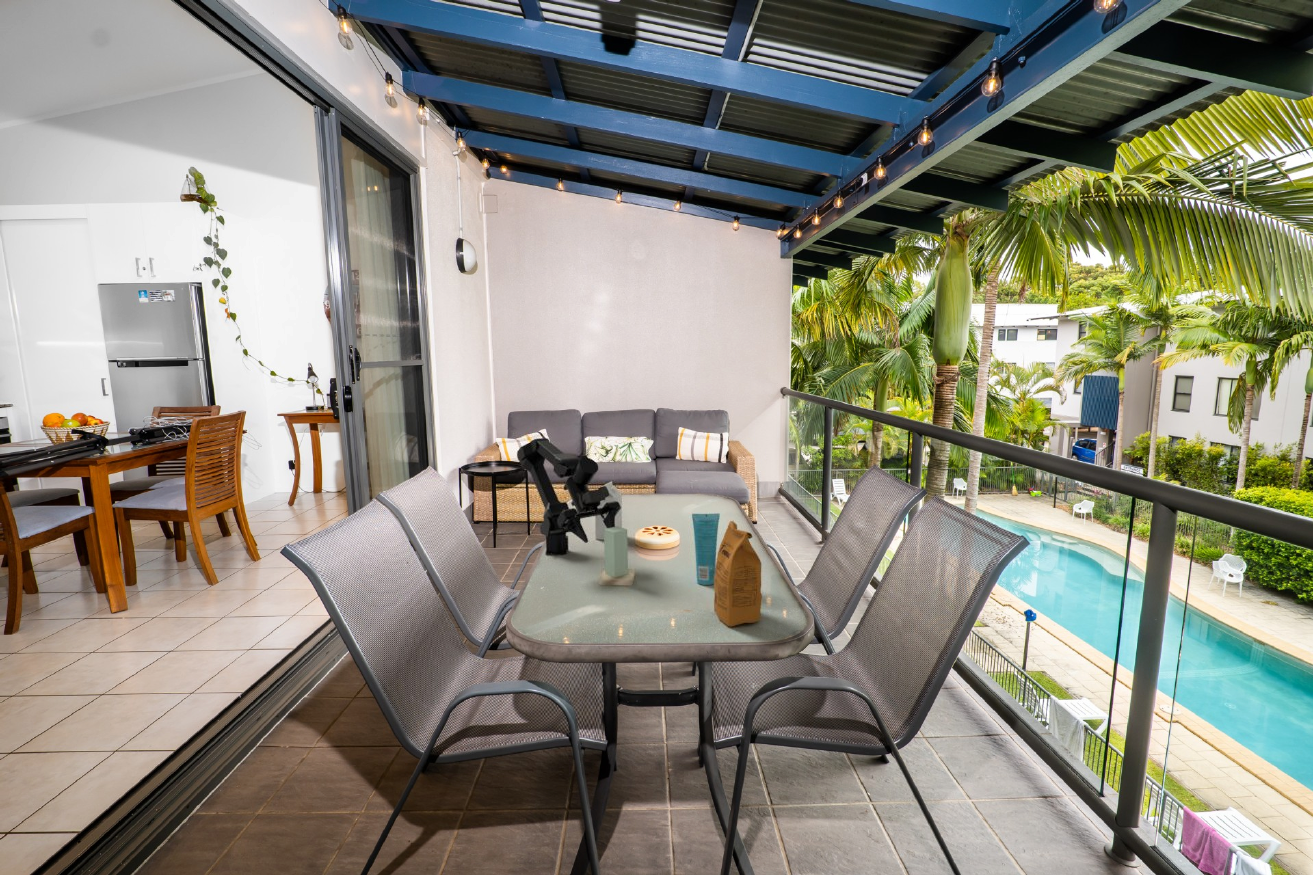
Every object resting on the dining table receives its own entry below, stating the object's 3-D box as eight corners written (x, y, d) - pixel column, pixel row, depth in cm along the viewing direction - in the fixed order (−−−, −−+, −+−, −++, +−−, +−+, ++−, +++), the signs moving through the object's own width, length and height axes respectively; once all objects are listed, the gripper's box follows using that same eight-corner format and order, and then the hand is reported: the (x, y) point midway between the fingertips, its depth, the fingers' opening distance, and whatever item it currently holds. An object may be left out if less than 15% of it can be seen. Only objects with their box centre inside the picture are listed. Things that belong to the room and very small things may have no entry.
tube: (716, 578, 168) (716, 510, 165) (721, 584, 163) (721, 515, 161) (690, 580, 166) (690, 512, 164) (694, 586, 162) (694, 516, 159)
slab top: (598, 585, 161) (598, 579, 161) (603, 573, 170) (603, 568, 170) (632, 585, 161) (632, 580, 161) (634, 573, 170) (634, 568, 170)
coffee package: (747, 604, 149) (749, 517, 147) (765, 626, 137) (767, 531, 135) (708, 607, 148) (709, 520, 145) (723, 629, 136) (724, 534, 133)
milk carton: (595, 539, 205) (594, 484, 203) (603, 533, 212) (602, 480, 210) (614, 541, 203) (614, 485, 201) (622, 535, 210) (621, 481, 208)
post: (605, 573, 166) (604, 529, 164) (618, 569, 169) (617, 526, 167) (614, 577, 162) (613, 532, 161) (628, 573, 165) (627, 529, 164)
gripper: (561, 481, 166) (582, 529, 159) (617, 474, 178) (639, 518, 171) (548, 504, 174) (568, 551, 166) (603, 495, 185) (623, 538, 178)
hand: (601, 539), depth 170 cm, fingers open, 9 cm apart
